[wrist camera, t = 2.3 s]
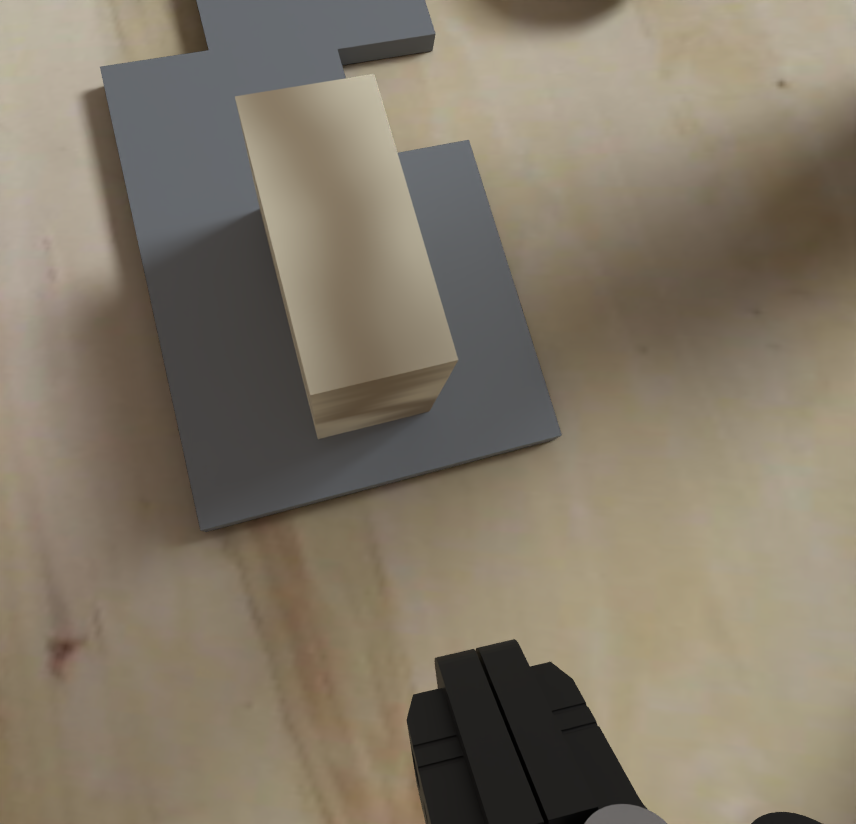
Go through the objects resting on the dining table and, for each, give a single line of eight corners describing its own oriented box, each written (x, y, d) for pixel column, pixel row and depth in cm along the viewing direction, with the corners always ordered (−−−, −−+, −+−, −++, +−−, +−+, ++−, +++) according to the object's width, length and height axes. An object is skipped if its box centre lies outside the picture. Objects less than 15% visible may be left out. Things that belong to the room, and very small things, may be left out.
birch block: (366, 188, 34) (374, 73, 26) (429, 411, 32) (458, 359, 24) (259, 208, 33) (234, 96, 25) (317, 439, 31) (310, 395, 23)
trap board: (340, -243, 40) (340, -306, 37) (554, 439, 33) (574, 427, 30) (42, -218, 38) (17, -284, 35) (205, 531, 31) (191, 528, 28)
